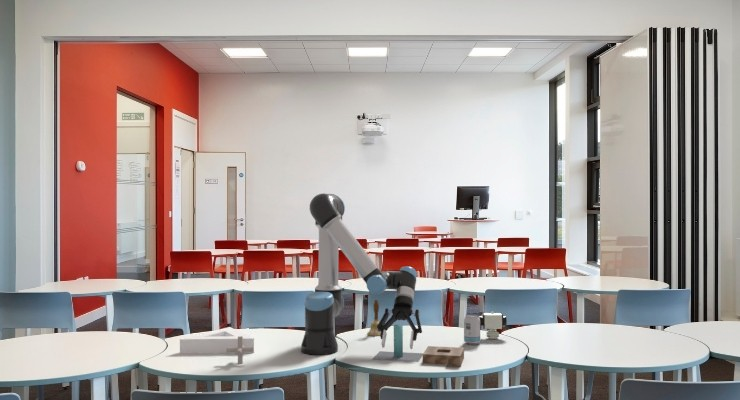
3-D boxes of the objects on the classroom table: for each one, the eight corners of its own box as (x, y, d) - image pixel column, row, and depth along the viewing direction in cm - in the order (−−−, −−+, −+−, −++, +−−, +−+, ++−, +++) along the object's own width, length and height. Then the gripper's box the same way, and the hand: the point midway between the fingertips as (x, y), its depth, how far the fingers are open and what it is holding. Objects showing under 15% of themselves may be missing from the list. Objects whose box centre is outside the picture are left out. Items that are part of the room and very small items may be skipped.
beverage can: (483, 344, 271) (483, 316, 271) (469, 345, 268) (469, 317, 268) (474, 341, 277) (474, 313, 277) (461, 342, 274) (460, 314, 275)
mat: (371, 360, 243) (371, 359, 243) (379, 352, 257) (379, 351, 257) (418, 363, 239) (418, 361, 239) (423, 354, 252) (423, 353, 252)
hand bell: (388, 333, 295) (388, 299, 295) (378, 336, 288) (378, 301, 288) (373, 331, 300) (373, 298, 300) (363, 334, 293) (363, 300, 293)
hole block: (422, 364, 236) (422, 354, 236) (428, 356, 250) (428, 346, 250) (460, 366, 233) (460, 356, 233) (464, 358, 247) (463, 347, 247)
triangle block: (179, 354, 257) (179, 339, 258) (196, 341, 283) (196, 327, 284) (253, 354, 258) (253, 338, 258) (263, 340, 284) (263, 326, 284)
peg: (393, 357, 246) (392, 326, 246) (394, 355, 250) (394, 324, 250) (401, 357, 246) (401, 326, 246) (403, 355, 249) (403, 324, 249)
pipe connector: (228, 360, 245) (228, 334, 246) (255, 359, 246) (254, 333, 246) (224, 366, 235) (224, 339, 236) (252, 366, 236) (251, 339, 236)
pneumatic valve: (506, 339, 280) (506, 312, 280) (480, 339, 281) (479, 312, 281) (504, 337, 286) (504, 310, 286) (478, 336, 286) (478, 310, 286)
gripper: (432, 306, 260) (427, 353, 245) (378, 304, 266) (369, 350, 250) (430, 295, 255) (425, 342, 240) (375, 293, 260) (366, 339, 245)
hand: (396, 346), depth 245 cm, fingers open, 10 cm apart
